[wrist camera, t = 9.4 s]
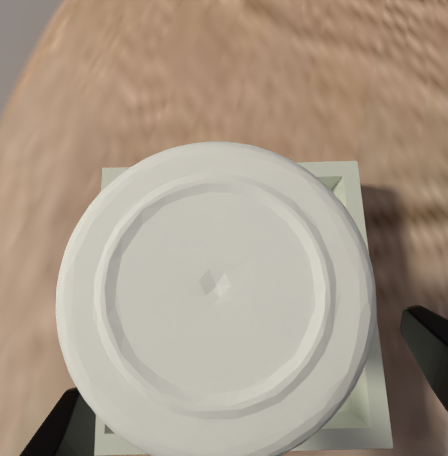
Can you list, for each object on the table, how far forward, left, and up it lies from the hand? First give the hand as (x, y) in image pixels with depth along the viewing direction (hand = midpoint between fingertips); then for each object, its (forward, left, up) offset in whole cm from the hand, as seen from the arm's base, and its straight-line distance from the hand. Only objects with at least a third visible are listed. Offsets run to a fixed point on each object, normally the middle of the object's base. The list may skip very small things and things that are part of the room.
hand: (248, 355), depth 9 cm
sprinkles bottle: (+2, +1, -8) cm, 9 cm away
